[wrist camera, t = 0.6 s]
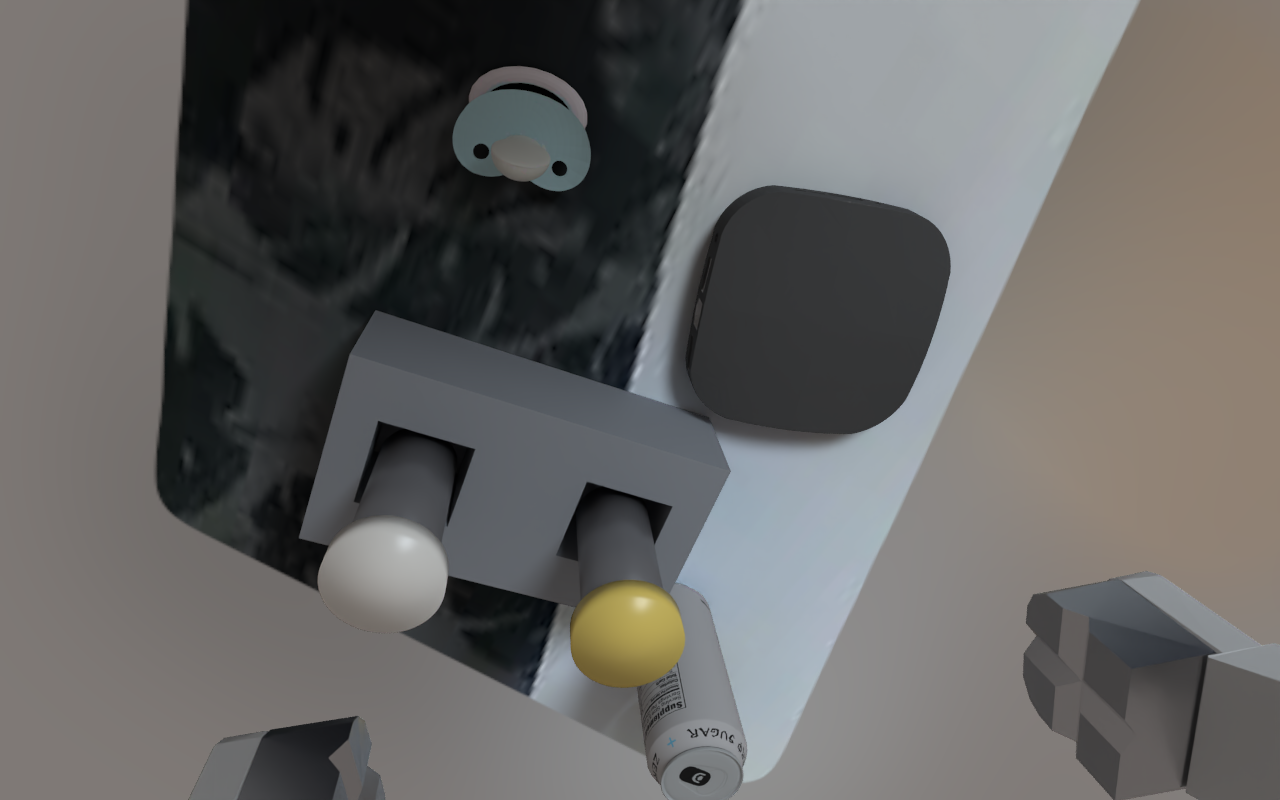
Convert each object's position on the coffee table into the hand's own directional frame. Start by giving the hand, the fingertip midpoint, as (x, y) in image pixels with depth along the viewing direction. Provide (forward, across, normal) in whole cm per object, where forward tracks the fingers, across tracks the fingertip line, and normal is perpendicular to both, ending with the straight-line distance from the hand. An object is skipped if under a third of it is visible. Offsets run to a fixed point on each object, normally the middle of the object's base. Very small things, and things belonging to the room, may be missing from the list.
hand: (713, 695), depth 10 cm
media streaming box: (+41, -15, +6) cm, 44 cm away
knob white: (+37, +9, +11) cm, 40 cm away
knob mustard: (+37, -1, +17) cm, 40 cm away
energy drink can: (+43, -5, +28) cm, 52 cm away
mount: (+42, +4, +13) cm, 44 cm away
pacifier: (+40, +1, -6) cm, 41 cm away
